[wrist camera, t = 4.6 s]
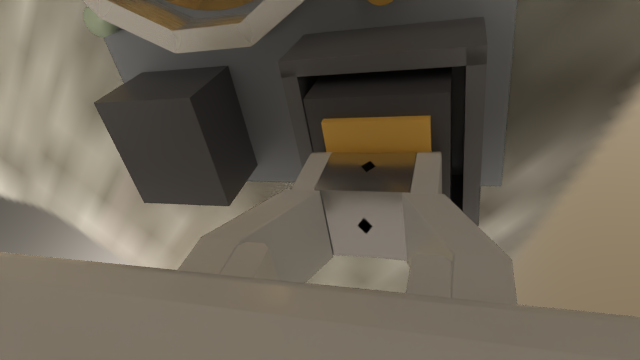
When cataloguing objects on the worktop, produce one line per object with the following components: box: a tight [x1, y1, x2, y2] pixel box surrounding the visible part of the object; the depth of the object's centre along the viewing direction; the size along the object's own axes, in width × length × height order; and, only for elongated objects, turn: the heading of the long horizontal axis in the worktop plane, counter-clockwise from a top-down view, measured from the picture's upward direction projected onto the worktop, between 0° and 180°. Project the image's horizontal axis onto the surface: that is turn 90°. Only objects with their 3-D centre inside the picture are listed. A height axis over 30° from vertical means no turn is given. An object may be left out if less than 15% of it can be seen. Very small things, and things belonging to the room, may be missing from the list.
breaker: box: [303, 67, 453, 200], centre depth 11 cm, size 4×3×2 cm
